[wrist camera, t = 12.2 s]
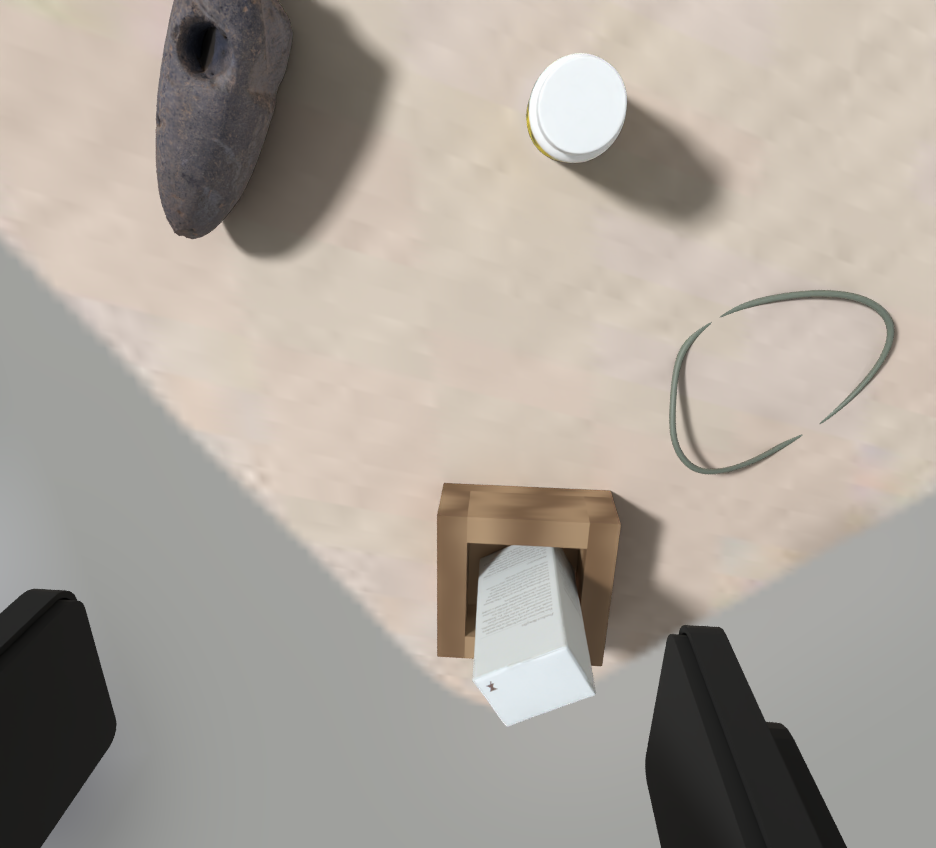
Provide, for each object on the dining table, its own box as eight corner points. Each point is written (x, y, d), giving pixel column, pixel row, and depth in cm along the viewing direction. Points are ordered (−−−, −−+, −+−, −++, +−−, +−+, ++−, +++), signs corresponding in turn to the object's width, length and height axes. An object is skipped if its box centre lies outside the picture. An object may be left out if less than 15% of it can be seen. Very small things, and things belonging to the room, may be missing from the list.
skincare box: (505, 598, 48) (503, 730, 37) (478, 556, 46) (468, 680, 35) (577, 569, 46) (598, 697, 35) (552, 525, 45) (566, 644, 34)
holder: (610, 490, 45) (620, 524, 41) (594, 623, 49) (602, 666, 45) (443, 483, 45) (437, 515, 41) (443, 615, 50) (437, 656, 46)
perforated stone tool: (246, 250, 40) (196, 267, 33) (167, 212, 39) (100, 223, 33) (326, -5, 34) (283, -43, 28) (235, -53, 33) (170, -103, 27)
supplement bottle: (528, 68, 35) (533, 41, 27) (613, 69, 34) (643, 43, 27) (523, 161, 37) (526, 161, 29) (604, 163, 36) (629, 164, 29)
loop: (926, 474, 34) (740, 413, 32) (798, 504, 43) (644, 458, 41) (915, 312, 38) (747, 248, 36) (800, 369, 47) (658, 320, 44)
